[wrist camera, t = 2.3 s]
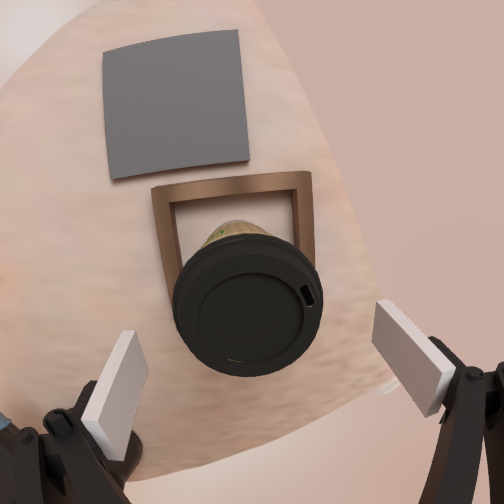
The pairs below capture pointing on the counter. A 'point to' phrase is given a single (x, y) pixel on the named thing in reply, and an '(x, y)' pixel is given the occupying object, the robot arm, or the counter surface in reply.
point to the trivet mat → (174, 103)
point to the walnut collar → (228, 186)
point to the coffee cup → (247, 301)
